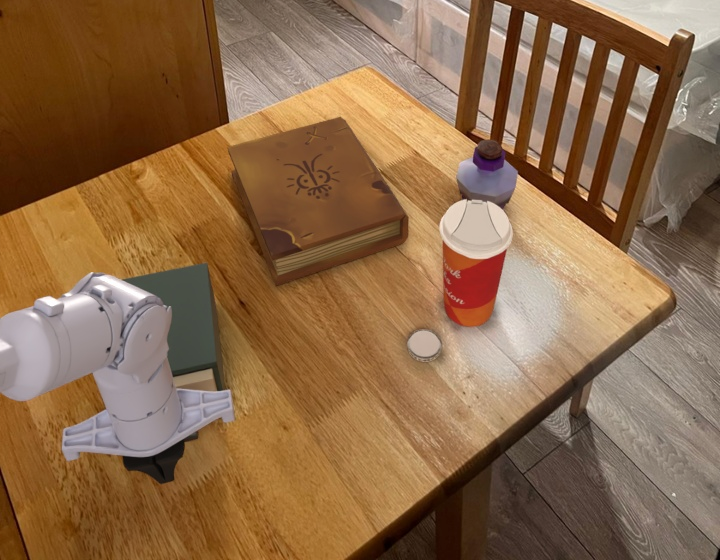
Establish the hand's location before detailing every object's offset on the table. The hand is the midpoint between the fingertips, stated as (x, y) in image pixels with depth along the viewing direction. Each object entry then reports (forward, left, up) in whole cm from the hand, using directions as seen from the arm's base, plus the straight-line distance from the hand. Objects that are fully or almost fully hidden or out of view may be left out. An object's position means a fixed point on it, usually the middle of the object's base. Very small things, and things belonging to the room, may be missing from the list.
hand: (166, 472), depth 69 cm
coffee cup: (+36, +14, -5) cm, 39 cm away
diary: (+21, +36, -5) cm, 42 cm away
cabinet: (0, +15, -5) cm, 16 cm away
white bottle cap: (+29, +10, -5) cm, 31 cm away
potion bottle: (+44, +29, -5) cm, 53 cm away
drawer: (0, +11, -4) cm, 12 cm away
